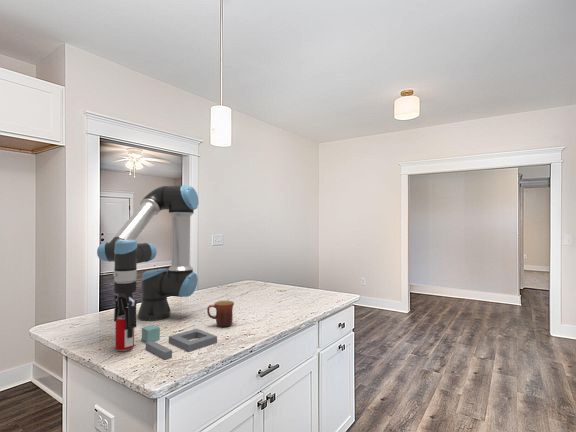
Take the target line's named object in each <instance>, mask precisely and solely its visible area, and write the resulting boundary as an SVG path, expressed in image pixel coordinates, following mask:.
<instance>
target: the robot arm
mask: <svg viewBox="0 0 576 432" xmlns="http://www.w3.org/2000/svg"><path fill="white" fill-rule="evenodd" d="M139 203H140V204H139V206H138V208H137V209H136V210H135V211H134V213H133V214H132V215H130V217H129V218H128V220H127V221H126V222H125V223H124V224H123V226H122V227H121V228H120V229H119V230H118V232H117V233H116V234H115V235H114V237H113V238H112V239H111V240H110V241H109V242H108V241H107V242H102V243H101V244H99V245H98V247H97V249H96V255H97V257H98V259H99V260H100V261H104V262H109V263H112V262H114V268H113V269H114V270H113V271H114V273H113V274H112V275H113V277H114V278H113V280H114V283H113V292H114V294H117V295H114V296H113V297H114V312H113V321H114V323H116V320H117V317H118V316H121V315H125V323H126V328H124V330H125V347H129V346H133V328H134V329H135V328H137V319H138V320H140V321H145V322H146V321H158V320H159V321H160V320H164V319H166V318H169V317H171V315H172V314H171V313H172V312H171V311H172V310H171V308H170V305H169V302H168V297H176V298H177V297H180V298H186V297H191V296H192V295H193V294H194V293H195V291H196V289H197V285H198V280H199V279H198V275H197V273H195V272H194V268H193V267H192V266H191V261H190V259H191V217H192V215H194V214H195V213H194V210H196V209H198V206H199V196H198V192H197V190H196V189H195V188H194V187H193V186H191V185H164V186H163V185H162V186H159V187H157V188H155V189H153V190H151V191H150V192H149V193H147V194H146V195H145V196H144V197H143V198H142V200H141V201H140V202H139ZM164 210H168V214H169V215H170V216H171V263H170V264H171V265H170V266H169V268H158V269H157V268H156V269H151V270H147V271H144V272H142V277H141V302H140V303H141V304H140V306H139V308H138V311H137V303H138V301H137V299H133V293H135V292H136V291H137V281H136V280H137V276H138V275H137V273H138V271H137V270H138V267H137V265H138V264H139V263H140V264H141V263H147V262H150V261H153V259H155V258H156V256H157V252H158V251H157V247H156V246H155V244H154V243H150V242H143V243H137V242H138V241H137V240H136V239H137V238H138V237H139V236H140V234H141V233H142V232H143V230H144V229H146V226H147V225H148V224H149V223H150V222H151V220H152V219H153V217H154V216H156V215H158V214H159V213H160V212H161V211H164Z"/></svg>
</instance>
